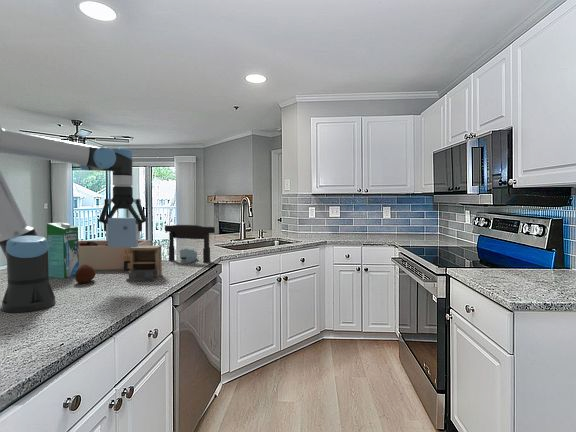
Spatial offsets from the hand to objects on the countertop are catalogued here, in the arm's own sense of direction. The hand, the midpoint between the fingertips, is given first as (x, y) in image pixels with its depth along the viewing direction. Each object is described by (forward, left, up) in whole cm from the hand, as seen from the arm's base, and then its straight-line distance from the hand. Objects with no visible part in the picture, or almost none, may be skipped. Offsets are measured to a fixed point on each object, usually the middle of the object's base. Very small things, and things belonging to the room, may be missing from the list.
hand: (123, 239), depth 163 cm
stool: (+64, -17, -20) cm, 69 cm away
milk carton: (+24, +35, -20) cm, 47 cm away
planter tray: (+53, +26, -20) cm, 62 cm away
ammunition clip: (+36, +6, -20) cm, 42 cm away
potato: (+9, +19, -20) cm, 29 cm away
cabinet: (+16, -4, -20) cm, 26 cm away
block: (0, 0, -3) cm, 3 cm away
